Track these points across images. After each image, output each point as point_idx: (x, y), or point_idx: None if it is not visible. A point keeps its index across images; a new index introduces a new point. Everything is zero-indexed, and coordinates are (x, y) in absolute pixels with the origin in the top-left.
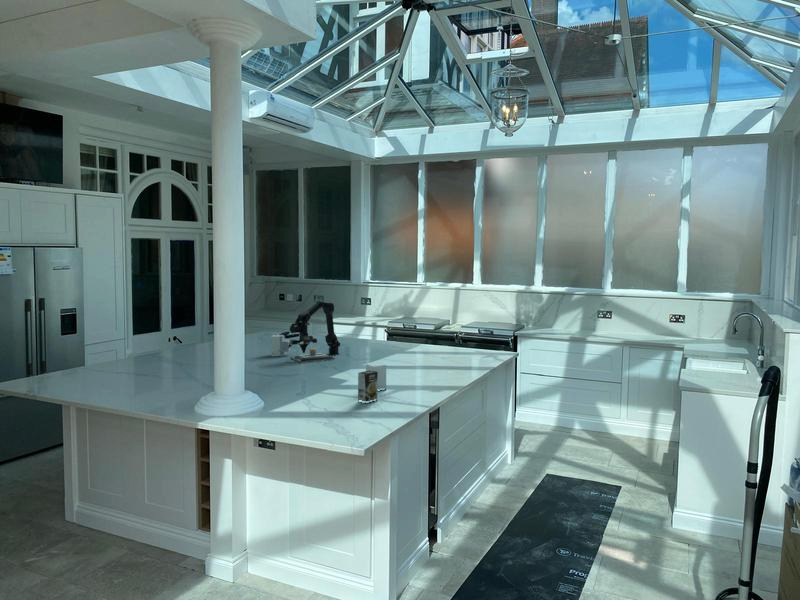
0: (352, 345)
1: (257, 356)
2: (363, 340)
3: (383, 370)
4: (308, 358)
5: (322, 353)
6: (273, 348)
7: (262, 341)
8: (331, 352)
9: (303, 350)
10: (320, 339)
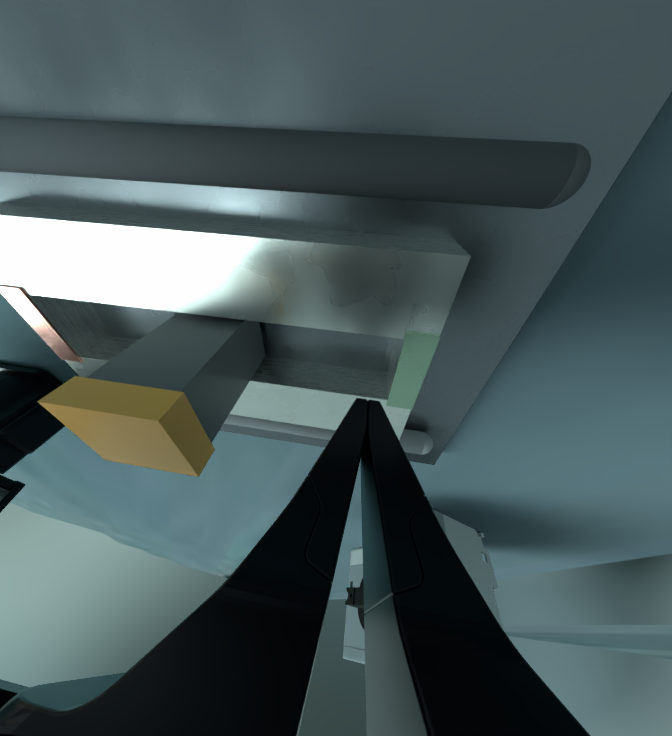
0: (21, 480)
1: (538, 559)
2: (13, 501)
3: None
4: (374, 143)
5: (72, 356)
6: (491, 603)
7: (331, 592)
8: (30, 398)
9: (386, 445)
10: (171, 551)
